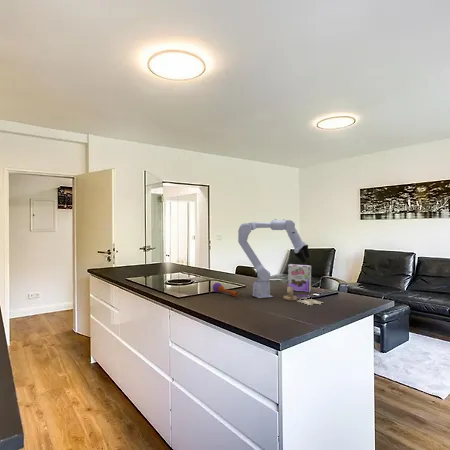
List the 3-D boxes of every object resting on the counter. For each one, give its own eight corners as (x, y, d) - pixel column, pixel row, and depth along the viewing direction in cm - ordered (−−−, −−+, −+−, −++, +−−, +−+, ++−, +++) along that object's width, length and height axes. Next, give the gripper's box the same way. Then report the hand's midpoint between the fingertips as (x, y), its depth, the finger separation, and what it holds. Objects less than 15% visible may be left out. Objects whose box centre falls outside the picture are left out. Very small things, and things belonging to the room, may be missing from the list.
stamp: (288, 301, 174) (289, 288, 174) (283, 299, 178) (283, 286, 178) (296, 300, 176) (296, 287, 176) (290, 298, 180) (291, 286, 180)
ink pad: (299, 299, 177) (299, 297, 177) (292, 297, 183) (292, 295, 183) (311, 298, 181) (311, 296, 181) (304, 296, 186) (304, 294, 186)
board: (308, 305, 164) (308, 304, 164) (296, 301, 173) (296, 300, 173) (323, 303, 168) (323, 302, 168) (311, 299, 177) (311, 298, 177)
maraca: (232, 291, 180) (210, 283, 195) (233, 301, 181) (211, 292, 196) (239, 287, 184) (217, 280, 199) (240, 297, 185) (218, 289, 200)
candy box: (287, 290, 204) (287, 264, 204) (289, 289, 209) (290, 263, 209) (309, 293, 197) (309, 266, 197) (311, 291, 202) (311, 265, 203)
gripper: (298, 240, 178) (309, 262, 178) (305, 233, 190) (315, 253, 190) (287, 244, 181) (298, 266, 181) (294, 237, 194) (305, 257, 194)
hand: (306, 260), depth 186 cm, fingers open, 7 cm apart
